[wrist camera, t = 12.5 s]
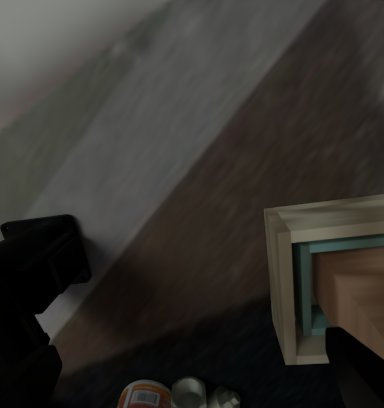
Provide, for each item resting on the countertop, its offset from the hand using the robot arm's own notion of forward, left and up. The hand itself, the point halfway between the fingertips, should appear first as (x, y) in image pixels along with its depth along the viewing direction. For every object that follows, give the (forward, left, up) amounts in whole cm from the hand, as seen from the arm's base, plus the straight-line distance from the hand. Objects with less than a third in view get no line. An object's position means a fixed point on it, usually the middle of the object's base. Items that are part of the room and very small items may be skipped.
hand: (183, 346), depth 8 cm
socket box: (+10, -6, -13) cm, 18 cm away
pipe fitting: (-3, -22, -14) cm, 26 cm away
